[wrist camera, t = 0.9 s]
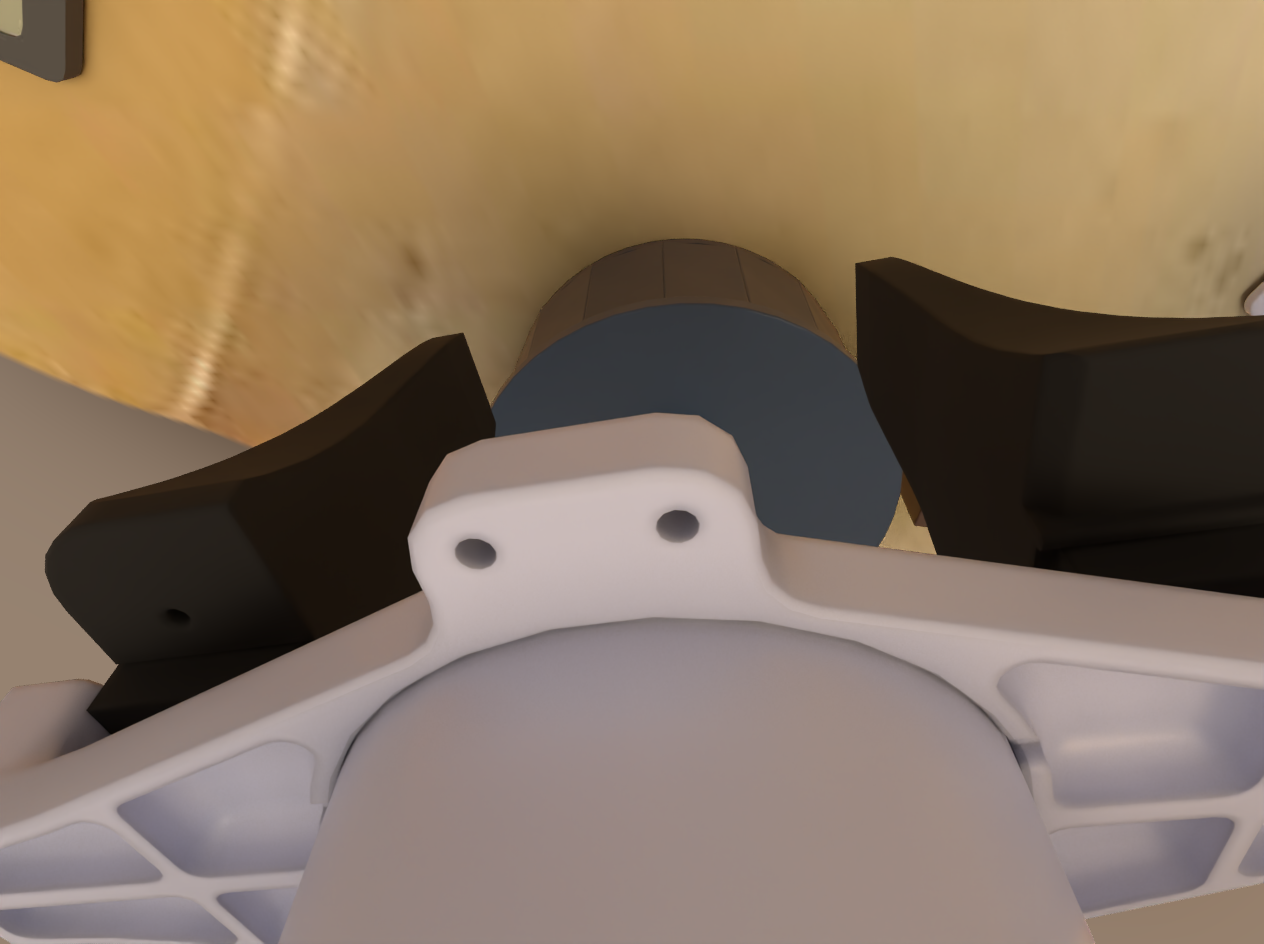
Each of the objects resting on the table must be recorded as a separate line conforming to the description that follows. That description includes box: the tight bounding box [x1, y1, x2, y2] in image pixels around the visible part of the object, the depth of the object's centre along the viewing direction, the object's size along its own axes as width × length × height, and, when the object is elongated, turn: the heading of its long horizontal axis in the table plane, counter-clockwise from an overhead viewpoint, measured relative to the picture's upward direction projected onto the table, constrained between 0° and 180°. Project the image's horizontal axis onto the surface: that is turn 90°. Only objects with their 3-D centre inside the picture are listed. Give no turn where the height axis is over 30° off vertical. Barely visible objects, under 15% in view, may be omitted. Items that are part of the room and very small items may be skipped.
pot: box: [514, 239, 845, 371], centre depth 24 cm, size 11×11×5 cm
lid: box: [490, 296, 903, 547], centre depth 21 cm, size 12×12×4 cm
